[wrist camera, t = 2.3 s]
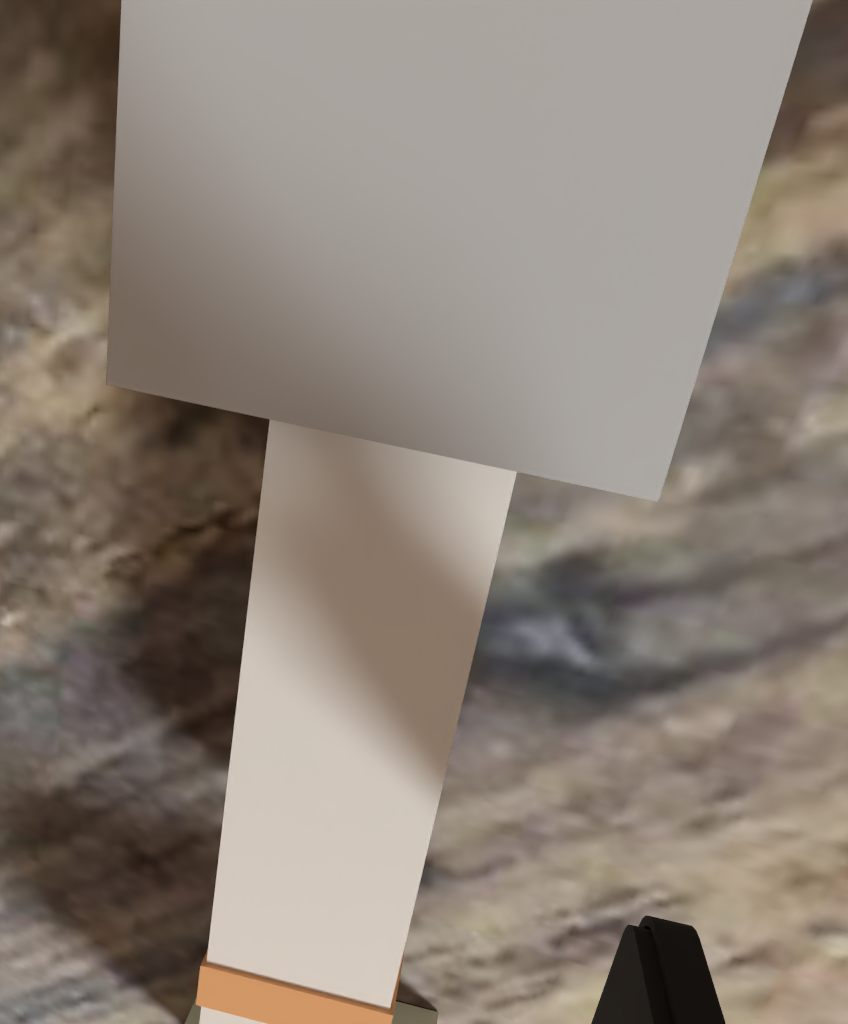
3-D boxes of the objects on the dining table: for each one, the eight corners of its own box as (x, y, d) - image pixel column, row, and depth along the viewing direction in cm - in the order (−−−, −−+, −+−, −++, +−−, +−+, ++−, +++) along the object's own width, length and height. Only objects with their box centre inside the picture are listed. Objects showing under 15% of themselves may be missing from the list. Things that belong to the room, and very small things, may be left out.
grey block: (377, -237, 13) (161, -1013, 5) (738, -181, 12) (1098, -927, 5) (304, 332, 16) (105, 384, 8) (589, 390, 16) (658, 502, 8)
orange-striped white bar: (435, -381, 10) (392, -727, 6) (700, -343, 10) (799, -681, 6) (249, 938, 18) (185, 1095, 14) (392, 975, 17) (362, 1143, 14)
